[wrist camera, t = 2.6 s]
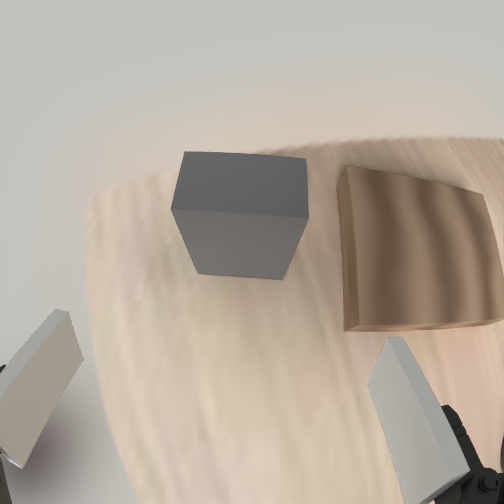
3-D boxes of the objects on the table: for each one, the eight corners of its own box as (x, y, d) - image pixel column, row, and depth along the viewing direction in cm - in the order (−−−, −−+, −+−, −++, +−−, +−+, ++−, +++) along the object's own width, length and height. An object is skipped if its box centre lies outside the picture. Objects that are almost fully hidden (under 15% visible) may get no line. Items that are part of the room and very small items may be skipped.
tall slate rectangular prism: (283, 233, 30) (305, 154, 19) (282, 280, 28) (308, 218, 17) (204, 228, 30) (185, 147, 19) (198, 273, 28) (170, 209, 17)
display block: (466, 209, 32) (482, 194, 29) (487, 324, 26) (508, 317, 22) (336, 187, 32) (346, 165, 28) (343, 331, 26) (359, 324, 22)
